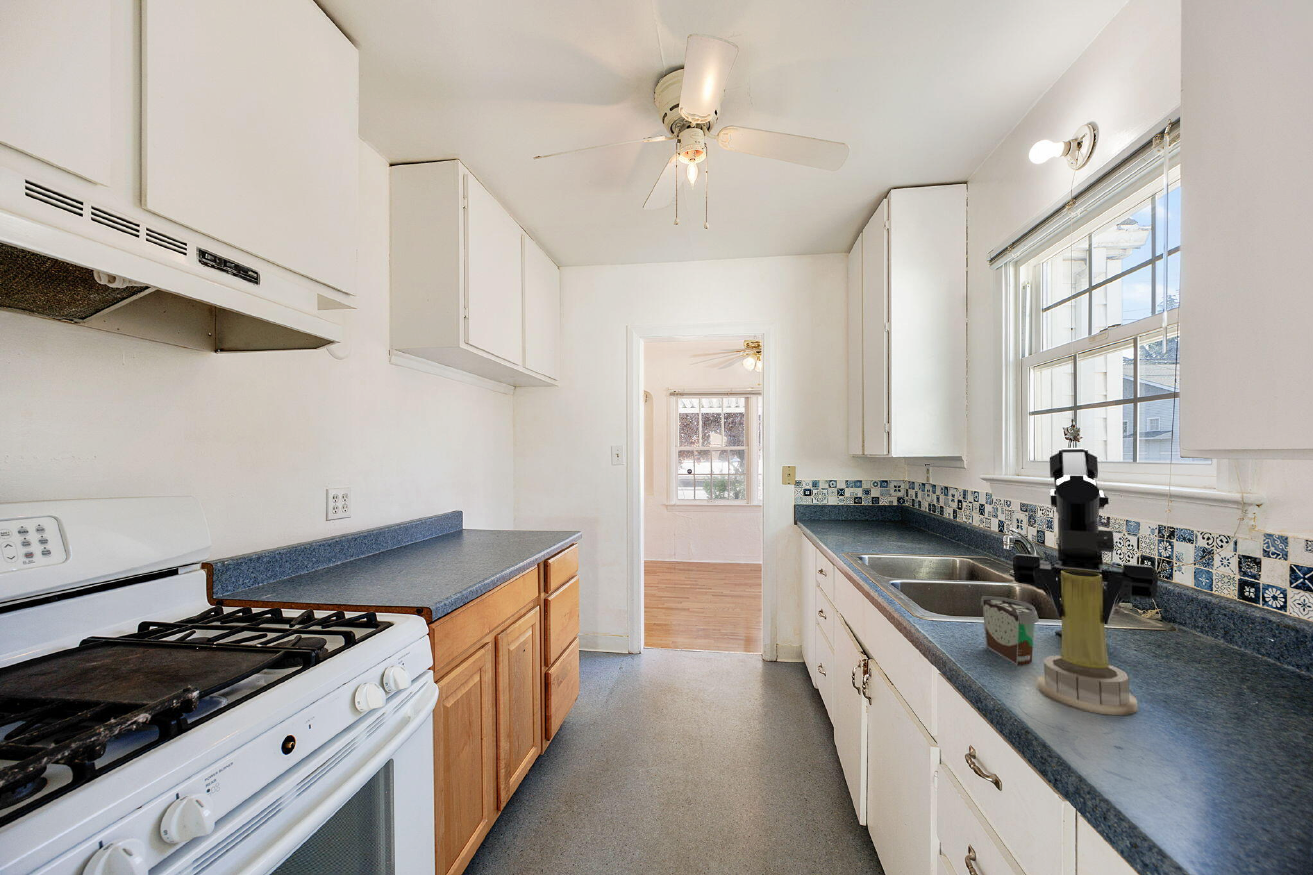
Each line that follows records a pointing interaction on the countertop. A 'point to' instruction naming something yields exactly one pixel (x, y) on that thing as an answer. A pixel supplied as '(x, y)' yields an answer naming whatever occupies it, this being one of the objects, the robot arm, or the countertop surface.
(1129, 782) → the countertop surface
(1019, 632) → the food container
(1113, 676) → the collar stand
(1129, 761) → the countertop surface
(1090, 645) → the vase
